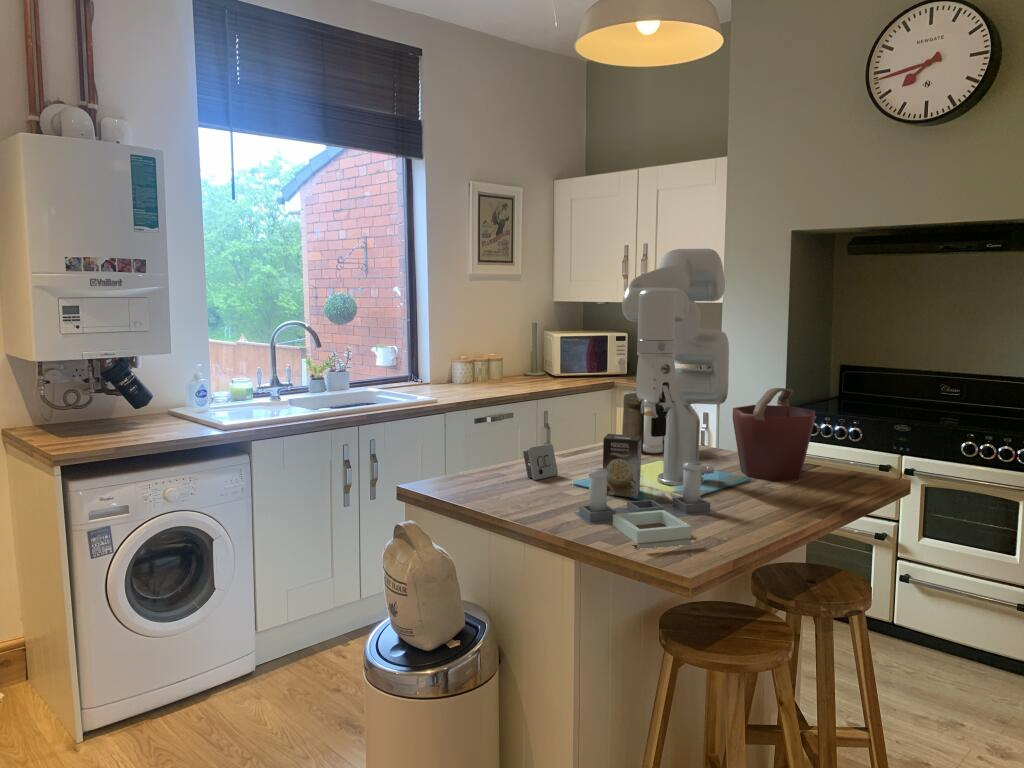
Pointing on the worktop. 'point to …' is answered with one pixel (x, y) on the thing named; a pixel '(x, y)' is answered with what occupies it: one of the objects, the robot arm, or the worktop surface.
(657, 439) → the cylinder
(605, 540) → the worktop surface
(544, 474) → the electrical switch
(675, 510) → the fuse block
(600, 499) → the fuse
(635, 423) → the wooden container
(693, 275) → the robot arm
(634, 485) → the coffee box
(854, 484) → the worktop surface
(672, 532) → the tray
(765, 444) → the bucket
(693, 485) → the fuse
